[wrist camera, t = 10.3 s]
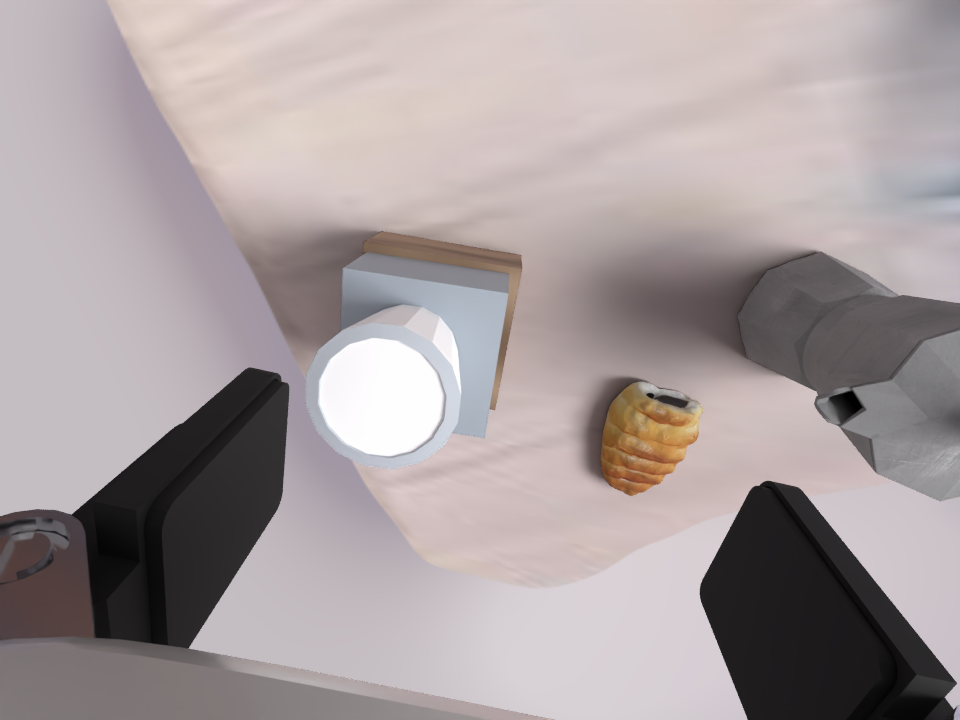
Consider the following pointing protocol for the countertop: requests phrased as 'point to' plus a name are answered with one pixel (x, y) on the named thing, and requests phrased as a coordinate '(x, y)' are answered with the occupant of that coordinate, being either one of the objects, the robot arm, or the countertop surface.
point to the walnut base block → (459, 257)
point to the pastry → (646, 436)
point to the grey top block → (449, 294)
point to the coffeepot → (866, 364)
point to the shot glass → (387, 388)
